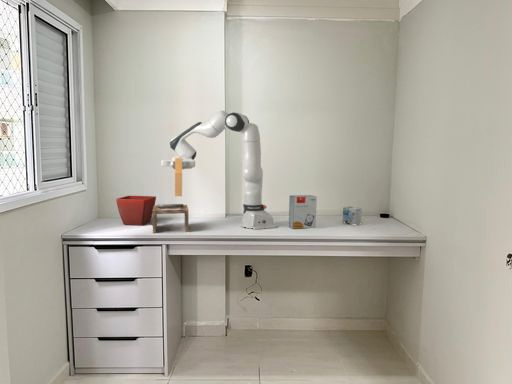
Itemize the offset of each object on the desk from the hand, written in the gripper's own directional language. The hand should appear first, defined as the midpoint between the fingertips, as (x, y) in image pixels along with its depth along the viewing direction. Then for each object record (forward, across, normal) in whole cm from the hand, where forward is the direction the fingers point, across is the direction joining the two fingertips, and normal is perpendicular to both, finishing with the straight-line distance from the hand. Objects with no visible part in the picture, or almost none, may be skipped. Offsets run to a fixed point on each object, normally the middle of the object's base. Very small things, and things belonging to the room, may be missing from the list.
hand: (178, 164), depth 220 cm
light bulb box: (+2, +113, +37) cm, 119 cm away
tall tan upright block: (-1, 0, +18) cm, 19 cm away
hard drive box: (+8, +76, +38) cm, 85 cm away
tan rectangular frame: (0, -4, +39) cm, 39 cm away
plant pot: (-21, -25, +40) cm, 52 cm away
